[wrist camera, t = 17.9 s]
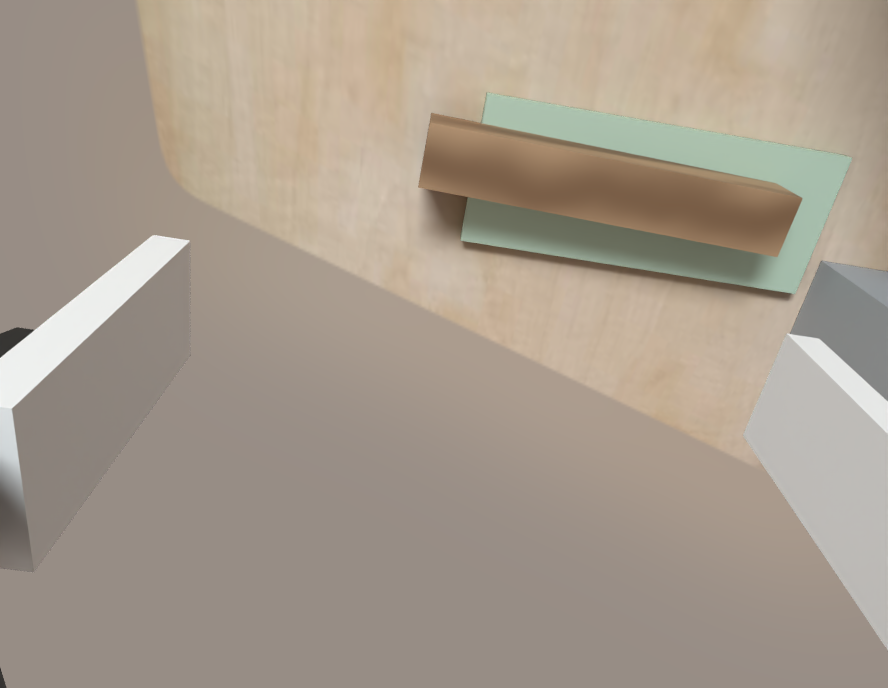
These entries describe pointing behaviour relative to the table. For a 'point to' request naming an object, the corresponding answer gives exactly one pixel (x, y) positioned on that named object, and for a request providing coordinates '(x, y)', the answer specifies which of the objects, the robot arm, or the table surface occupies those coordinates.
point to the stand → (850, 318)
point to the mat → (626, 247)
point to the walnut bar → (606, 186)
